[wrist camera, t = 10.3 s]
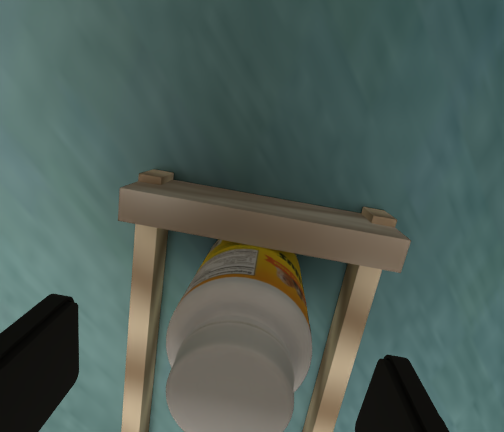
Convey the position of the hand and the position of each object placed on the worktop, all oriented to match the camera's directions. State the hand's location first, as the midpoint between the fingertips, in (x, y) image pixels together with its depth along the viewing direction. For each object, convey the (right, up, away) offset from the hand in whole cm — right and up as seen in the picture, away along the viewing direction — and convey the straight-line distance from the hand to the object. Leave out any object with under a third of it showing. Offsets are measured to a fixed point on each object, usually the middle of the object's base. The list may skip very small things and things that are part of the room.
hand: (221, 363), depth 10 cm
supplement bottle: (+1, +2, +10) cm, 10 cm away
